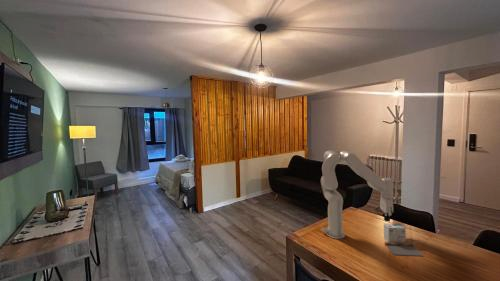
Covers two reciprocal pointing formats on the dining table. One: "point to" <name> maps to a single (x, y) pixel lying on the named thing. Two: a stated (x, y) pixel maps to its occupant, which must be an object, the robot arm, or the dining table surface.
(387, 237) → the light bulb box
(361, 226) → the dining table surface
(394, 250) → the mat
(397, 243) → the rail
